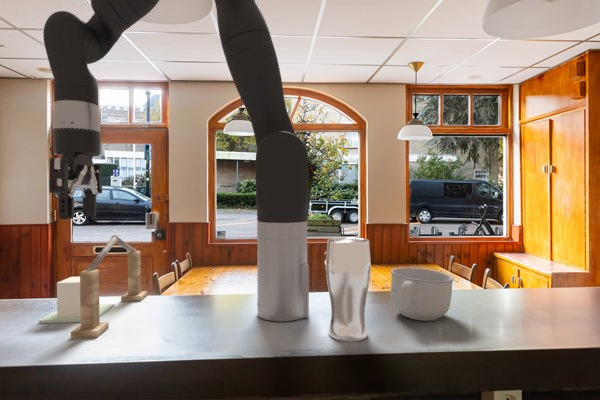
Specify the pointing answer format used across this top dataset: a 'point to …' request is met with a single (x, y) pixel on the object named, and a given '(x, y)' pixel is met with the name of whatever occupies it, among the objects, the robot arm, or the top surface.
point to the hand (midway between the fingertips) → (78, 217)
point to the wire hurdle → (91, 290)
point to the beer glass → (348, 287)
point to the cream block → (68, 297)
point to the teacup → (421, 292)
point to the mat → (64, 319)
